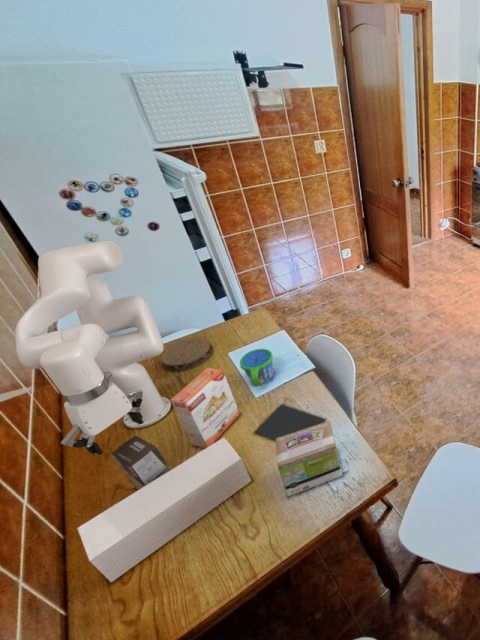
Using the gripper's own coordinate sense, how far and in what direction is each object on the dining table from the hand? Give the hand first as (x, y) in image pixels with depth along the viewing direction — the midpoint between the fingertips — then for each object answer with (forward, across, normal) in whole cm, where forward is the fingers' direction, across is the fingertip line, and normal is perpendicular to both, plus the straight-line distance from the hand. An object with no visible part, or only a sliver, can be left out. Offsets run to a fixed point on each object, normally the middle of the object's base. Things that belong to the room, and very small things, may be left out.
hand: (119, 436), depth 99 cm
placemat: (+21, -29, +23) cm, 43 cm away
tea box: (+21, -18, +41) cm, 50 cm away
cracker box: (+21, -20, +2) cm, 29 cm away
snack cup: (+21, -43, -2) cm, 48 cm away
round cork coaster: (+20, -42, -38) cm, 60 cm away
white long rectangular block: (+21, +3, +15) cm, 26 cm away
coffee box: (+21, 0, +2) cm, 21 cm away
